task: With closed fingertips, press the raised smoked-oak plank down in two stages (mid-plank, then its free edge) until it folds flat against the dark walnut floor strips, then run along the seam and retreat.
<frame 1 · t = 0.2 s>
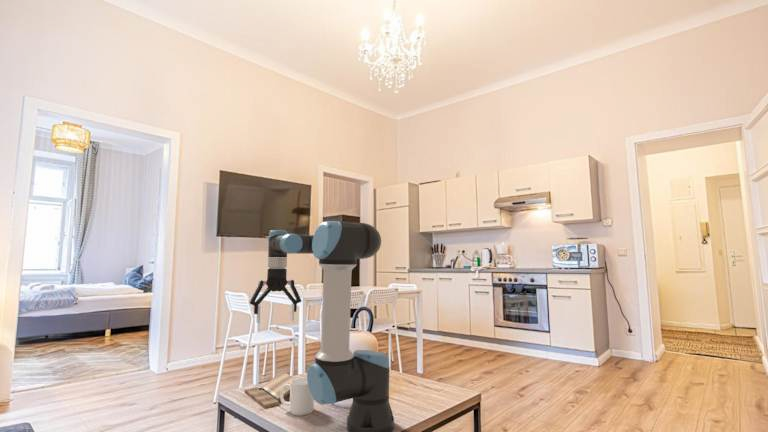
hand: (275, 321, 158), 28 cm above the table, fingers open, 13 cm apart
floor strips: (261, 398, 149), on the table
plank: (280, 385, 154), point 3 cm above the table, hinge at 30.0°
cup: (296, 411, 137), on the table
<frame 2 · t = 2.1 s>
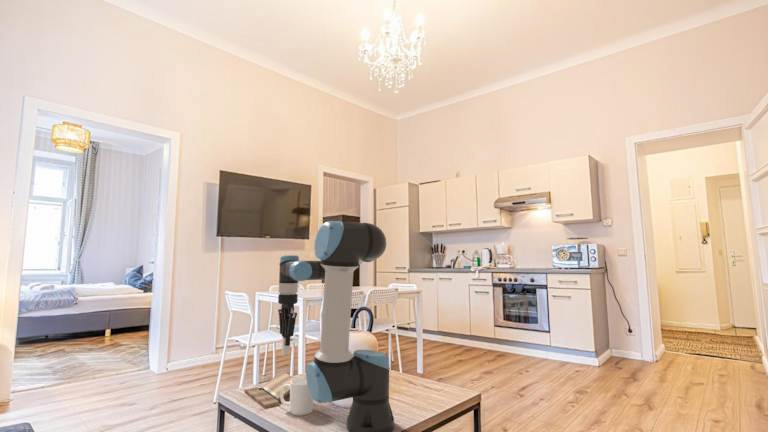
hand: (285, 353, 157), 15 cm above the table, fingers closed
nothing on the table moved.
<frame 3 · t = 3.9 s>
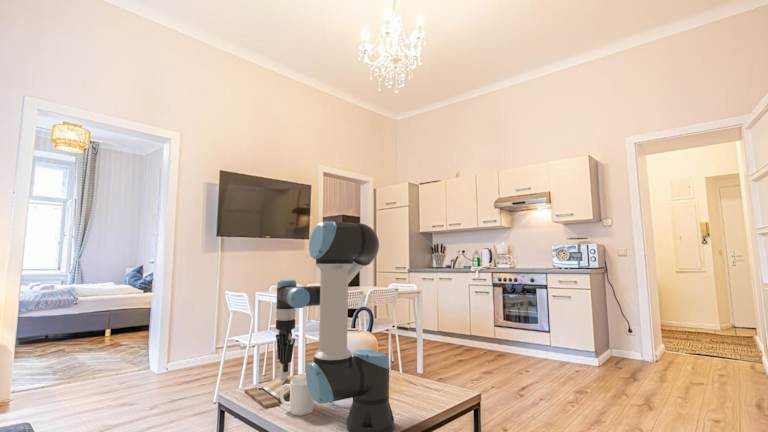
hand: (283, 379, 155), 5 cm above the table, fingers closed
plank: (280, 385, 154), point 3 cm above the table, hinge at 26.6°, touching gripper
everything else where it was.
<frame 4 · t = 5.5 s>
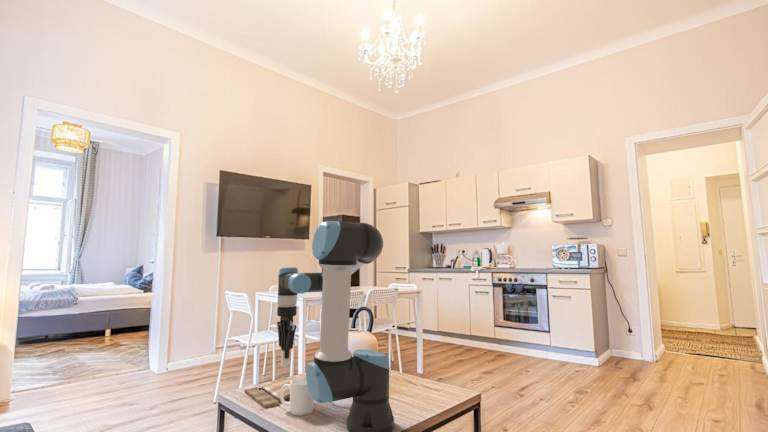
hand: (285, 366, 156), 10 cm above the table, fingers closed
plank: (282, 388, 154), point 2 cm above the table, hinge at 14.8°
everything else where it was.
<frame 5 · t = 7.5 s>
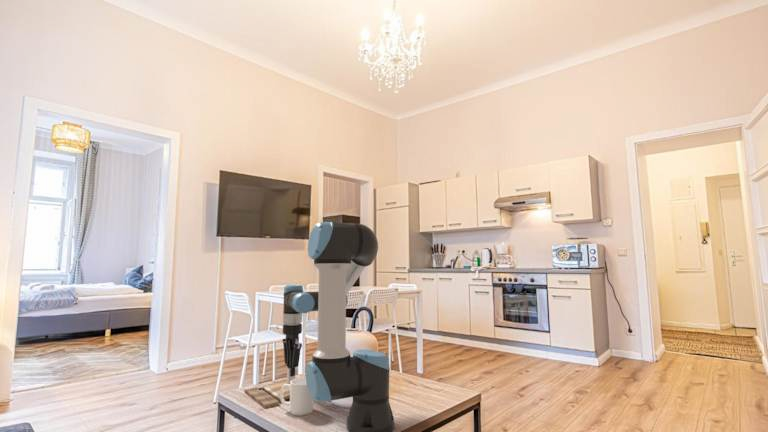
hand: (290, 383, 157), 3 cm above the table, fingers closed
plank: (282, 389, 154), point 2 cm above the table, hinge at 9.6°, touching gripper
everything else where it was.
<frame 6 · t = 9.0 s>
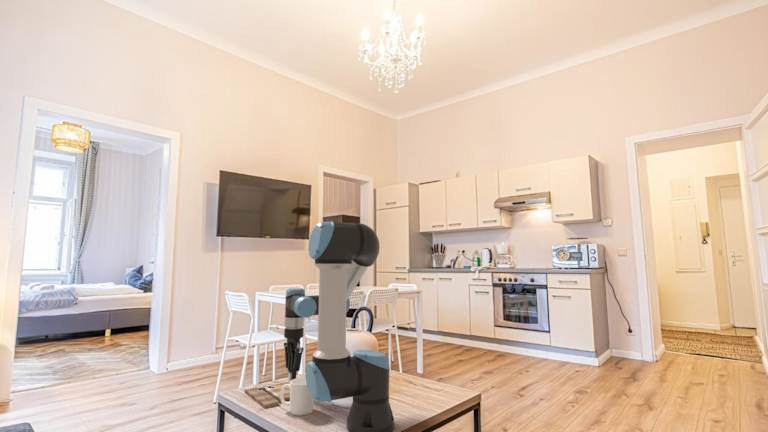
hand: (291, 388, 155), 2 cm above the table, fingers closed
plank: (282, 391, 155), point 1 cm above the table, hinge at 2.0°, touching gripper
everything else where it was.
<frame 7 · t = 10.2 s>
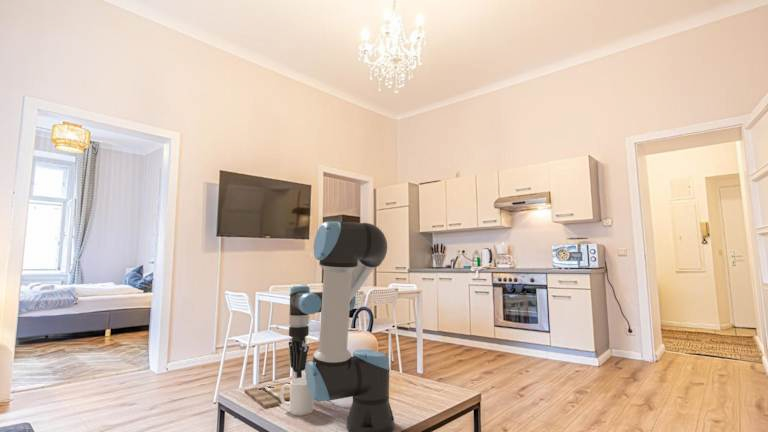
hand: (297, 388, 152), 3 cm above the table, fingers closed
plank: (282, 391, 155), point 1 cm above the table, hinge at 2.0°
everything else where it was.
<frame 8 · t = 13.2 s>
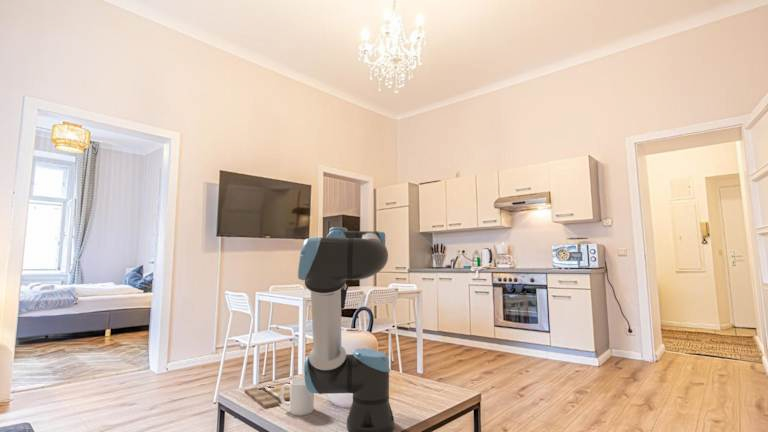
hand: (336, 326, 154), 26 cm above the table, fingers closed
nothing on the table moved.
at the end: plank at +2° (first picture: +30°); plank touching nothing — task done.
